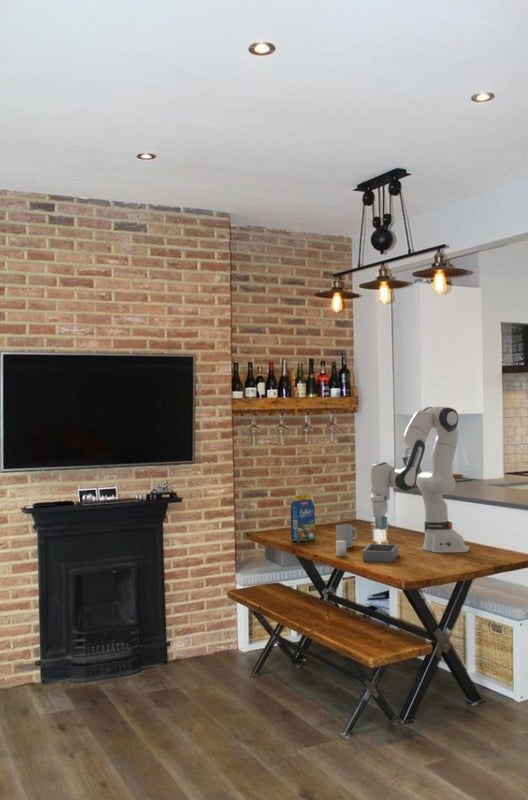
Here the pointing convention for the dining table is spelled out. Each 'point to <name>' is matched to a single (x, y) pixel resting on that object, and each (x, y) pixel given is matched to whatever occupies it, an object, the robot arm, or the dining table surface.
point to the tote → (380, 553)
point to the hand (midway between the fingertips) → (381, 524)
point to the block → (384, 523)
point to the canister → (341, 548)
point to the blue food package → (302, 518)
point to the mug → (345, 534)
